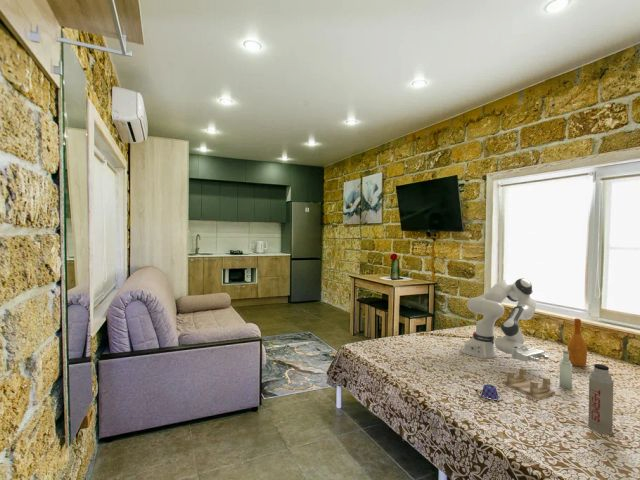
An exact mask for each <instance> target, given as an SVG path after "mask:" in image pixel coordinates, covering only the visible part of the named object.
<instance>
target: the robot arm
mask: <svg viewBox="0 0 640 480" xmlns="http://www.w3.org/2000/svg"><path fill="white" fill-rule="evenodd" d="M531 294H533V285H532V282H531V281H530V280H529V279H527V278H524V277H521V278H518V279H516V280H515V281H514V283H511V282H509V281H508V280H505V279H504V280H503V279H502V280H499V281H498V282H497V283H495V284H494V285H493V286H492V287H491V288H490V289H489V290H487V292H485V293H483V294H481V295H479V296H476V297H470V298H469V299H468V300H467V302H466V307H467V309H468V311H470V312H472V313H474V314H479V315H482V319H479V320H477V322H476V323H475V331H473V333H472V337H471V338H470V339H468V340H466V341H465V343H464V346H462V347H461V348H460V352H461V353H462V354H465V355H469V356H472V357H475V358H476V357H477V358H479V359H486V358H487V359H492V358H495V357H496V356H497V354H496V351H495V347H496V350H499V351H500V352H502V353H504V354H507V355H510V356H511V359H514V360H518V361H522V362H529V361H531V362H537V363H539V362H540V361H541V360H540V359H541V358H542V359H544V360H549V359H550V356H548V355H546V354H545V350H543V349H538V348H534V347H530V348H528V347H527V346H526V344H524V343H525V336H524V334H523V332H522V331H521V329H520V327H519V322H520V320H524V321H527V320H531V319H532V318H533V316H534V314H535V311H536V307H537V299H536V298H535V297H534V296H532V295H531ZM505 299H508V300H509V301H510V302H514V303H517V304H516V306H514V308H513V307H512V310H511V311H510V314H509V315H508V317H507V318H506V319H505V320H504V321H503V323H502V324H501V326H500V329H501V330H502V332H503V334H504V336H501V337H496V339H495V333H494V329H495V323H496V322H497V320H498V319H500V318H501V317H503V315H504V313H505V306H504V305H503V304H502V303H503V302H504V300H505Z"/></svg>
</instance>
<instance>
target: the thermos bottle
mask: <svg viewBox="0 0 640 480" xmlns="http://www.w3.org/2000/svg"><path fill="white" fill-rule="evenodd" d="M609 369H610V368H609V366H607V365H604V364H600V363H594V364H593V370H591V372H590V375H589V376H588V381H589V382H588V421H587V422H588V425H587V426H588V427H589V428H590V429H591V430H592V429H593V430H592V431H594V430H595V431H594V432H596V431H597V433H600V434H602V433H603V435H612V434H613V427H614V426H613V423H614V422H613V421H614V380H613V378H612V374H610V371H609Z"/></svg>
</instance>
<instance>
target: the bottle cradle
mask: <svg viewBox="0 0 640 480" xmlns="http://www.w3.org/2000/svg"><path fill="white" fill-rule="evenodd" d="M518 373H519V374H515V371H512V370H507V372H506V379H503V380H502V384H505V386H509V387H510V388H513V389H514V390H517V391H519V392H522V393H523V394H525V395H528V396H530V397H532V398H534V399H537V400H541V399H543V398H547V397H550V396H553V395H555V394H556V390H553V389H551V378H550V377H548V376H543V377H542V382H541V384H539V382H538V381H535V380H533V379H532V380H530V379H527V368H524V367H519V368H518Z"/></svg>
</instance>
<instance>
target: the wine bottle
mask: <svg viewBox="0 0 640 480" xmlns="http://www.w3.org/2000/svg"><path fill="white" fill-rule="evenodd" d="M573 322H574V330H573V333H572V335H571V337H570V339H569V341H568V344H567V351H569V361H571V364H572V366H576V367H586V365H587V362H588V361H587V357H588V349H587V345H586V341H585V340H584V337H583V334H582V332H581V325H582V320H581V319H580V318H574V321H573Z"/></svg>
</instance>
